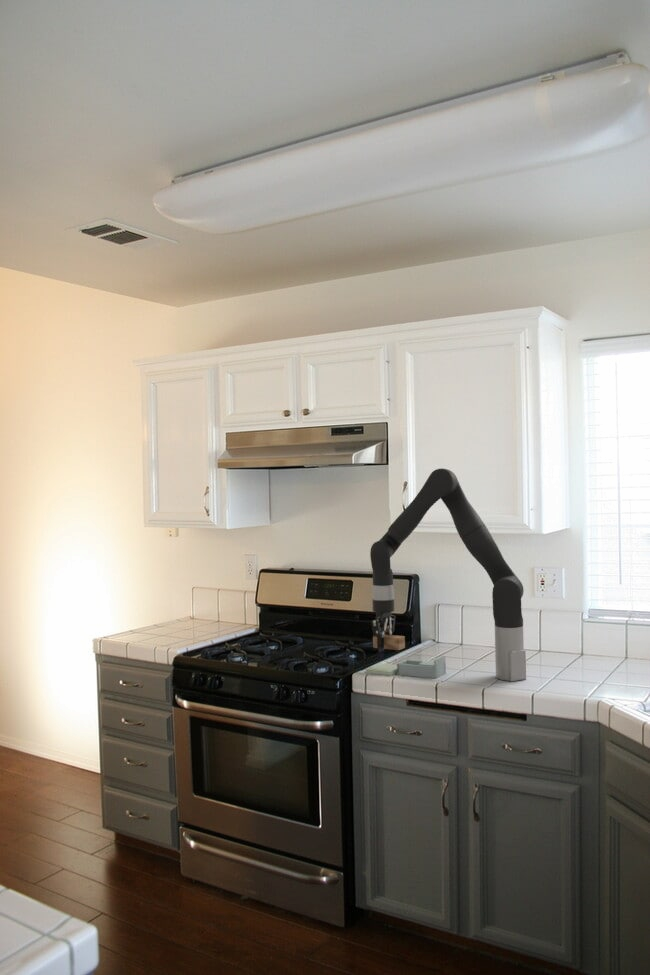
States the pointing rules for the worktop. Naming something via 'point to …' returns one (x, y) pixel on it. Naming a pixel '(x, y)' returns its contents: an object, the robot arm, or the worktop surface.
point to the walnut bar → (391, 642)
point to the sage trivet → (382, 669)
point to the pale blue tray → (423, 668)
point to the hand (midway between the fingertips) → (384, 646)
